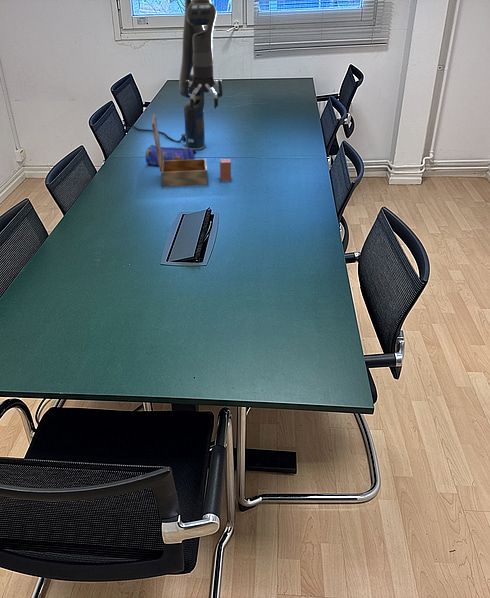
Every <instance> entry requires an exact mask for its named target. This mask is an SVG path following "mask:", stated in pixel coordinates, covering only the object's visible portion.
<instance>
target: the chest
mask: <svg viewBox="0 0 490 598" xmlns="http://www.w3.org/2000/svg"><path fill="white" fill-rule="evenodd" d="M160 174H161V186H162V188H164V187H189V186H208V185H209V184H208V165H207V158H195V159H191V160H167V161H163V165H162V171H161V172H160Z"/></svg>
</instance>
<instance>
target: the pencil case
mask: <svg viewBox="0 0 490 598" xmlns="http://www.w3.org/2000/svg"><path fill="white" fill-rule="evenodd" d="M161 151H162V157H163V161H167V160H191V159H196V157H195V155H197V150H192V149H190V148H186V147H184V146H183V147H176V146H175V147H174V146H161ZM145 162H146V164H147V165H151V166H159V162H158V157H157V151H156V145H154V144H151V145H149V146H148V147H147V149H146V152H145Z"/></svg>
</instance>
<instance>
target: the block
mask: <svg viewBox="0 0 490 598" xmlns="http://www.w3.org/2000/svg"><path fill="white" fill-rule="evenodd" d="M219 178H220V181H221V182H224V181H226V182H227V181H228V182H229V181H232V161H231V158H220V159H219Z"/></svg>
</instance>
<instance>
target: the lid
mask: <svg viewBox="0 0 490 598" xmlns="http://www.w3.org/2000/svg"><path fill="white" fill-rule="evenodd" d="M151 120H152V121H151V127H152V130H153V132H152V133H153V139H154V144H155V145H154V146H156V151H157V157H158V162H159V165H158V167H159V172H160V173H161V171H162V165H163V157H162V151H161V147H162V146H161V145H162V144H161V139H160V133H158V131H159V128H158V122H157V115H156V113H153V114H152V119H151Z"/></svg>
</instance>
